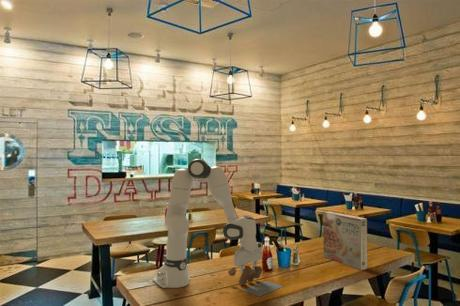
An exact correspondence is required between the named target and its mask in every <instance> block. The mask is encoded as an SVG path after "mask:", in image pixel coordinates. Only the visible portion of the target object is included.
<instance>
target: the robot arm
mask: <svg viewBox="0 0 460 306" xmlns="http://www.w3.org/2000/svg"><path fill="white" fill-rule="evenodd" d="M194 179H205V180H206V182H207V184H208V188H209V192H210V194H211V196H212V198H213V200H214V201H216V202H217V203H219V204H220V206H221V207H222V210H223V212H224V215H225V218H226V224H225V225H224V227H223V230H222V233H223V236H224V238H225V239H227V240H230V241H235V240H239V244H240V245H239V246H240V247H238V248H236V250H235V251H234V254H233V265H234V266H235V267H238V268H239V270H240V274H242V273H243V270H244V265H245V266H246V265H248V264H251V263H253V264H252V266H251V269H254V270H255V269H256V266H257V264H258V263H259V262H258V261H260V260H262V259H263V248H262V247H263V243H262V242H258V241H257V238H256V236H257V225H256V219H255V218H254V217H252V216H249V215H242V216H240V217H239V216H238V214H237V212H236V209H235V206H234V203H233V199H232V193H231V187H230V183H229V181H228V177H227V175H226V173H225V171H224V169H223V168H222V167H221V166H219V165H218V166H217V165H214V166H210V165H209V163H208V162H207V161H206V160H204V159H202V158H194V159H192V160H191V161H190V162H189V163H188V166H187V168H178V169H176V170H175V172H174V175H173V178H172V182H171V186H170V187H171V188H170V195H169V200H168V205H167V210H166V213H165V216H164V225H165V227H166V229H167V241H166V248H165V249H166V257H164V258H163V260H164V264H163V265H162V266H161V267H159V268H158V269H157V273H156V276H155V277H153V278H152V281H153V282H154V283H155V284H157V285H158V286H159V287H161V288H163V289H164V288H165V289H167V288H168V289H169V288H171V289H176V288H183V287H186V286H188V285H189V284H190V281H191V277H190V272H189V266H188V257H187V241H188V236H189V228H190V222H189V220H188V218H187V217H186V214H187V210H188V207H189V205H190V201H191V192H192V191H191V190H192V185H193V181H194Z"/></svg>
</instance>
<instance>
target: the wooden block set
mask: <svg viewBox="0 0 460 306" xmlns="http://www.w3.org/2000/svg"><path fill="white" fill-rule="evenodd" d="M243 269H244V270H243V273H241V274H240V276H239V279H238V283H239V285H241V286H246V284H247V282H253V281H254V280H255V279H260V277H261V275H262V272H263V268H262V266H257V265H256V269H252V266H249V265H245V266H244V267H243ZM227 273H228V274H229V276H236V273H237V269H236V266H235V267H232V268H231V269H229V270H227Z"/></svg>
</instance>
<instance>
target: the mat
mask: <svg viewBox="0 0 460 306" xmlns="http://www.w3.org/2000/svg"><path fill="white" fill-rule="evenodd" d="M283 287H284V285H282V284H278V283H275V282H272V281H268V280H264V281H262V282H260V283H257V284H255V285H251V286H249V287H247V288H243V289H241V291H242V292H245V293H248V294H250V295H253V296H256V297H262V296H265V295H268V294H269V293H272V292H274V291H276V290H279V289H281V288H283Z"/></svg>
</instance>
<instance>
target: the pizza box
mask: <svg viewBox="0 0 460 306" xmlns="http://www.w3.org/2000/svg"><path fill="white" fill-rule="evenodd" d="M323 258H325V259H328V260H330V261H334V262H337V263H339V264H342V265H345V266H348V267H350V268H353V269H357V270H360V271H364V270H367V269H368V218H365V217H360V216H356V215H350V214H345V213H344V214H343V213H339V212H334V211H323Z"/></svg>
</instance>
